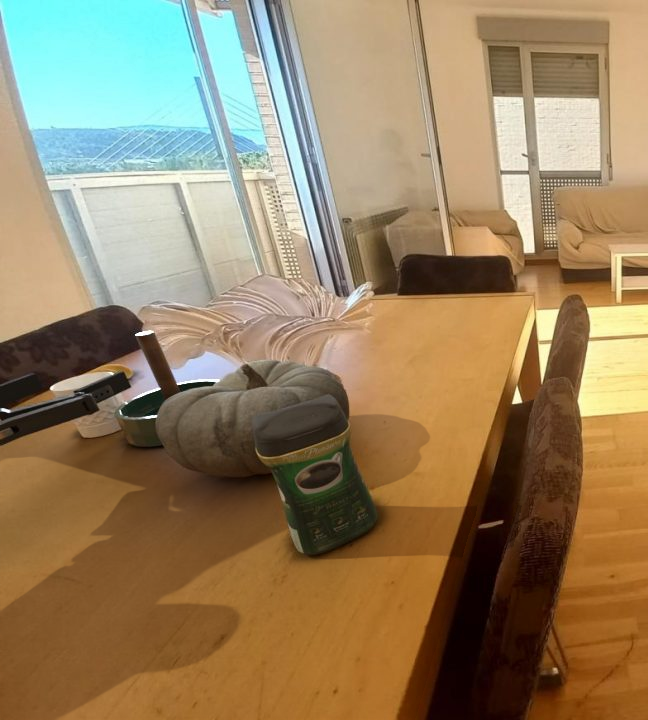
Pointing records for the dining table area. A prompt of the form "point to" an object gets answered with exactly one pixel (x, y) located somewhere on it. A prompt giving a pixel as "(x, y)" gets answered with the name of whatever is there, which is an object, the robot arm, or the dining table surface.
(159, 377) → the stirring stick
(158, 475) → the dining table surface
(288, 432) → the coffee jar
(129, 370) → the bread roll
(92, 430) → the white cup
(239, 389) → the gourd
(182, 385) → the bowl
